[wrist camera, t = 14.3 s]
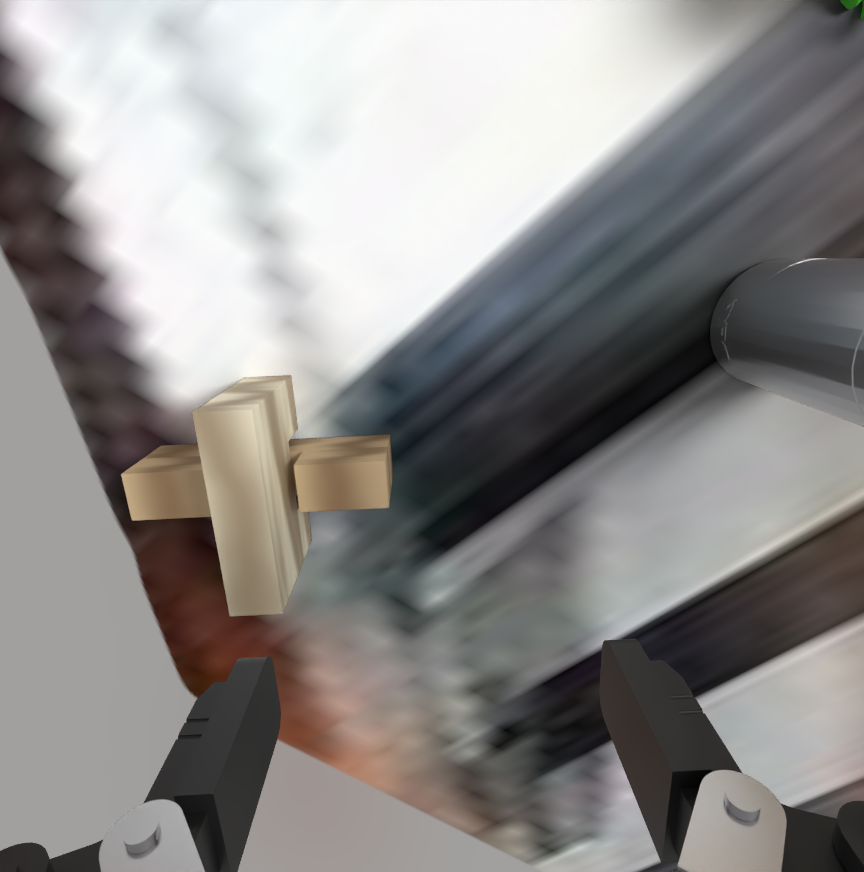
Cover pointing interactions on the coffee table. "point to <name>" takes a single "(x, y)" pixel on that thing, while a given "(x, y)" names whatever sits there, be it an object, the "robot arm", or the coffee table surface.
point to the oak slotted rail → (311, 466)
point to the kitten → (853, 5)
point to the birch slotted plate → (253, 492)
